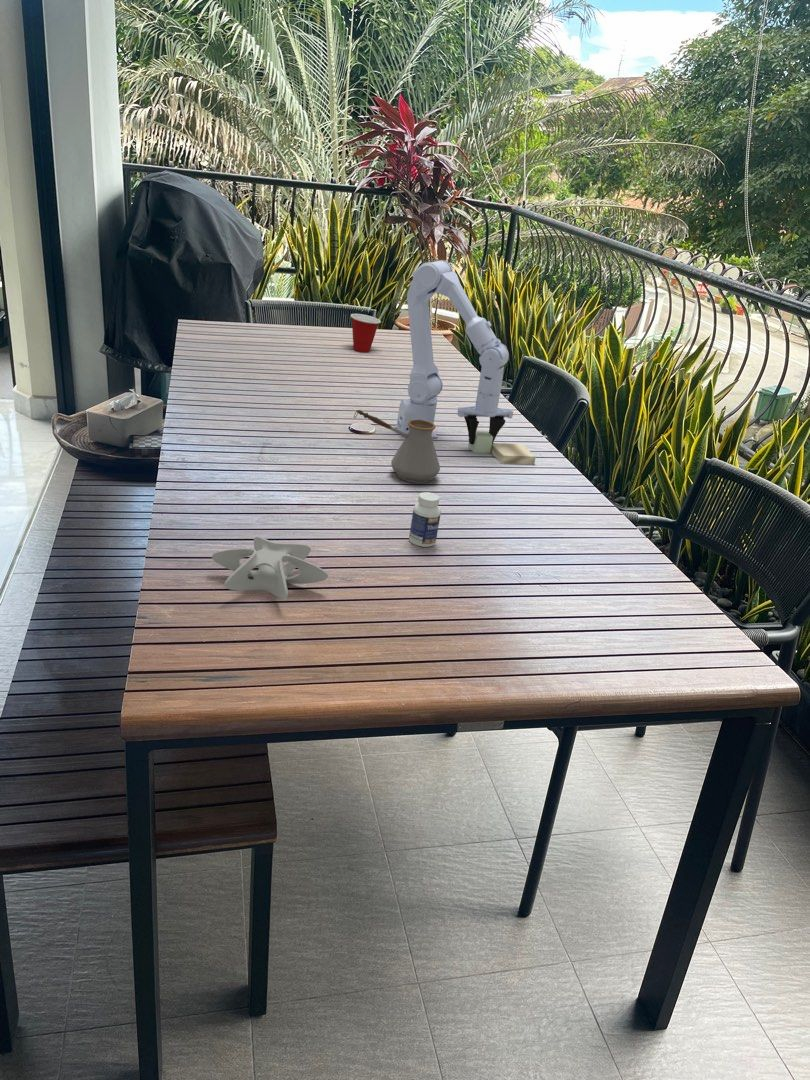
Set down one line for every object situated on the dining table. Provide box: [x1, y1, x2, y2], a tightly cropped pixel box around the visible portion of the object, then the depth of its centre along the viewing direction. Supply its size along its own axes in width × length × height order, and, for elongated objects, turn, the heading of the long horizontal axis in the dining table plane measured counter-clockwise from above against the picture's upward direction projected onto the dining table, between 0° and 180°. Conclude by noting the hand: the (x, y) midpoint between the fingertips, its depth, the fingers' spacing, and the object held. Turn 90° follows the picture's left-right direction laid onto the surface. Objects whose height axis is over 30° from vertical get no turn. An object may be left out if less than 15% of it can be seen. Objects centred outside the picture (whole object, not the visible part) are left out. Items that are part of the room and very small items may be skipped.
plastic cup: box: [350, 313, 382, 353], centre depth 296 cm, size 11×11×12 cm
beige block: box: [490, 442, 537, 465], centre depth 216 cm, size 9×9×3 cm
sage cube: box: [467, 429, 493, 454], centre depth 218 cm, size 4×4×4 cm
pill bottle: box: [408, 491, 442, 548], centre depth 163 cm, size 5×5×10 cm
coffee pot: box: [353, 409, 441, 484], centre depth 191 cm, size 21×12×15 cm, turn 99°
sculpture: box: [211, 536, 329, 600], centre depth 141 cm, size 18×20×6 cm
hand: (480, 443), depth 218 cm, fingers open, 5 cm apart
